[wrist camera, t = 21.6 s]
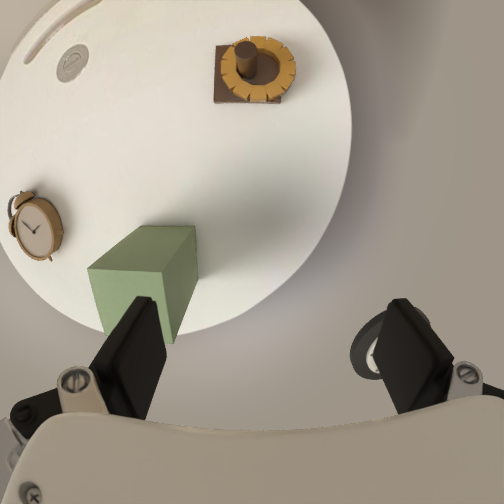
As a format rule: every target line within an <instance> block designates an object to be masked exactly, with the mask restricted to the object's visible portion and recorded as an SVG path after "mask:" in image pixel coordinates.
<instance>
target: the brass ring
mask: <svg viewBox="0 0 504 504" xmlns="http://www.w3.org/2000/svg"><path fill="white" fill-rule="evenodd" d="M242 41H249V39H248V38H247V37H246V38H244V39H242V40H240V41H238V42H235V43H233V46H234V47H232V46H230V47H229V49H228V50H227V51H226V53H225V54H224V56H223V57H222V58H223V60H221V75H222V78H223V81H224V82H225V84H226V85H227V87H228V88H229V90H230V91H231V92H232V91H233V94H234V95H236V96H238V97H240V98H242V99H244V100H246V101H247V100H248V99H249V97H250V102H266V100H267V98H268V100H269V101H271V100H273V99H275V98H277V97H279V96H281V95H283V93H284V92H286V91H287V89H288V87H289V86H290V84H291V83H292V81H293V80H294V76H295V74H296V71H295V61H293V59H294V57H293V56H292V54H291V53H290V51H289V50H288V48H287V47H283V44H282V43H280V42H278V41H276V40H274V39H272V38H269V39H268V40H267V42H266V37H261V36H251V37H250V42H252V43H254V44H255V45H256V47H257V53H265V54H267V55H269V56H271V57H273V58H274V60H275V61H276V63H277V64H278V66H279V74H278V76H277V77H276V79H275V80H274V81H272V82H270V83H268V84H266V85H251V84H249V83H247V82H245V81H243V80H242V79H241V77H240V76H239V74H238V73H237V62H236V57H235V52H234V49H235V46H236V45H237V44H238V43H240V42H242ZM282 47H283V48H282Z"/></svg>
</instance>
